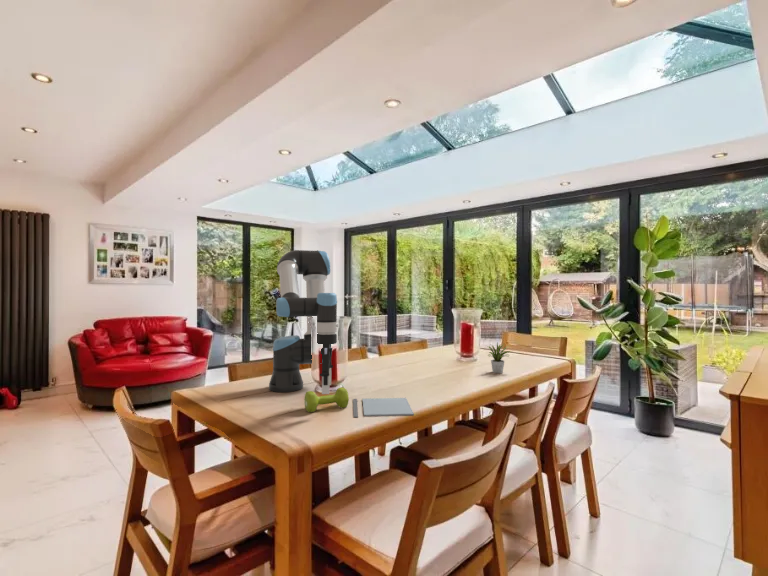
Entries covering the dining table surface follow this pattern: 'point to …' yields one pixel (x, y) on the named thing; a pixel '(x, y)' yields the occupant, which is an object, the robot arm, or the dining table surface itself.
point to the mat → (386, 407)
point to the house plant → (497, 358)
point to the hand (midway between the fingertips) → (326, 389)
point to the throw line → (355, 408)
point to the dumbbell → (326, 399)
